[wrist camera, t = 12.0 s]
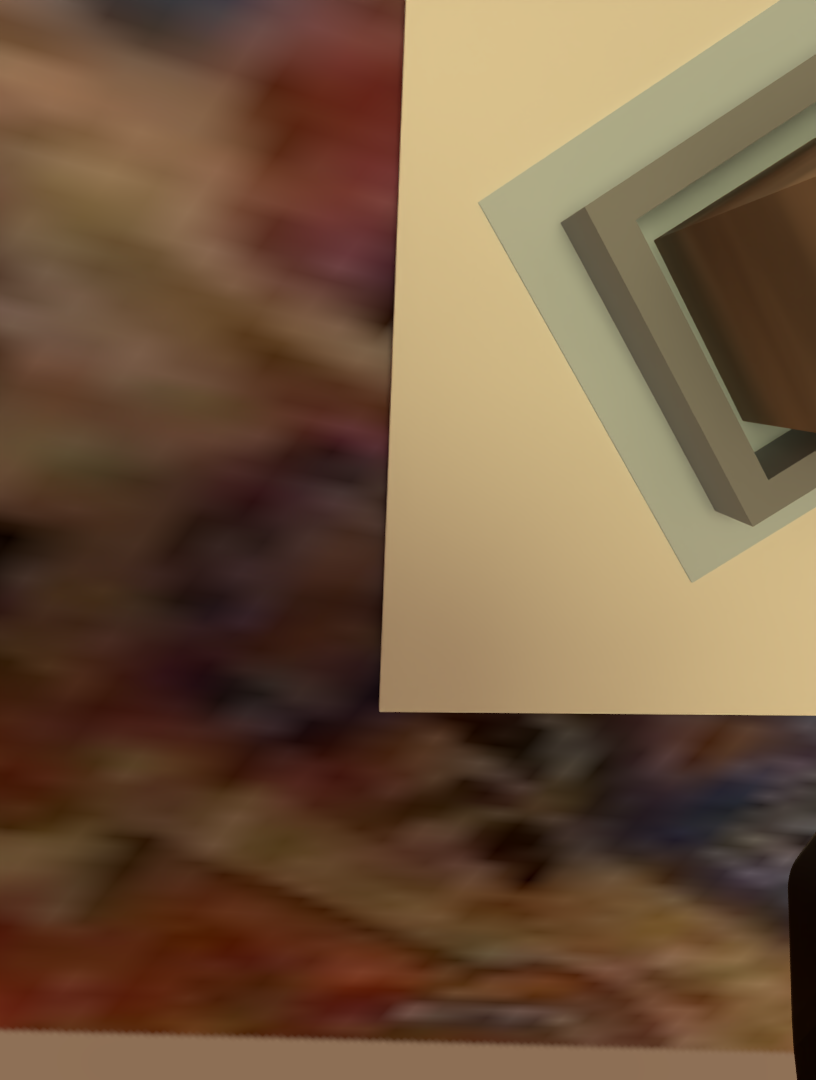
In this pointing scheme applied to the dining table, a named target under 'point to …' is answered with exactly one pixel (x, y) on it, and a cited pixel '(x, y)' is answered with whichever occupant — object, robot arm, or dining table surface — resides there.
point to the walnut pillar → (756, 289)
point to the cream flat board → (587, 368)
